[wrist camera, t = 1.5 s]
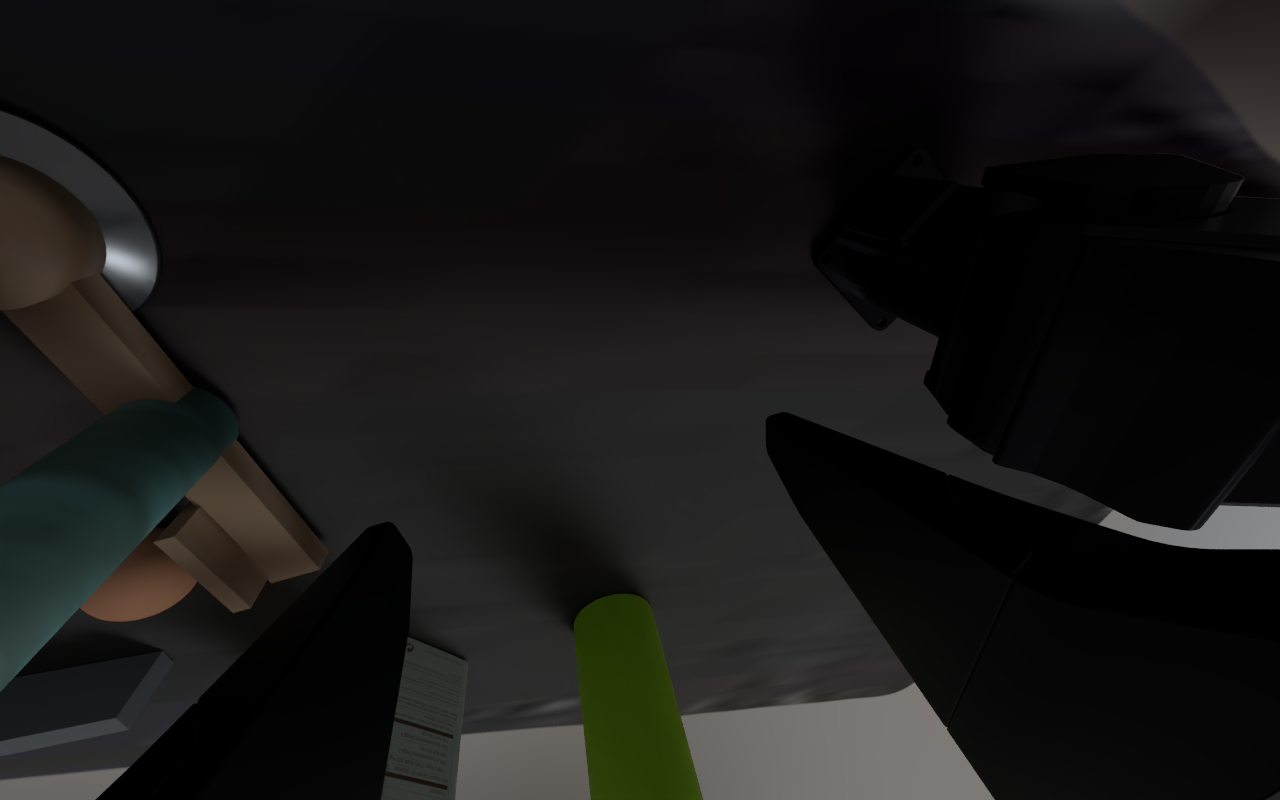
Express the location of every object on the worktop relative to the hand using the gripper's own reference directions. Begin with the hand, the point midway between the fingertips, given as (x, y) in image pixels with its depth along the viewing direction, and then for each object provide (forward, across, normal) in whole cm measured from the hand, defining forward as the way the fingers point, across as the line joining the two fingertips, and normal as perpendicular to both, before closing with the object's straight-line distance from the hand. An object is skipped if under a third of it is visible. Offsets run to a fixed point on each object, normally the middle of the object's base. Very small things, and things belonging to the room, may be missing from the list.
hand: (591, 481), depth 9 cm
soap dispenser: (+13, +3, +25) cm, 28 cm away
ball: (+11, +21, +7) cm, 25 cm away
